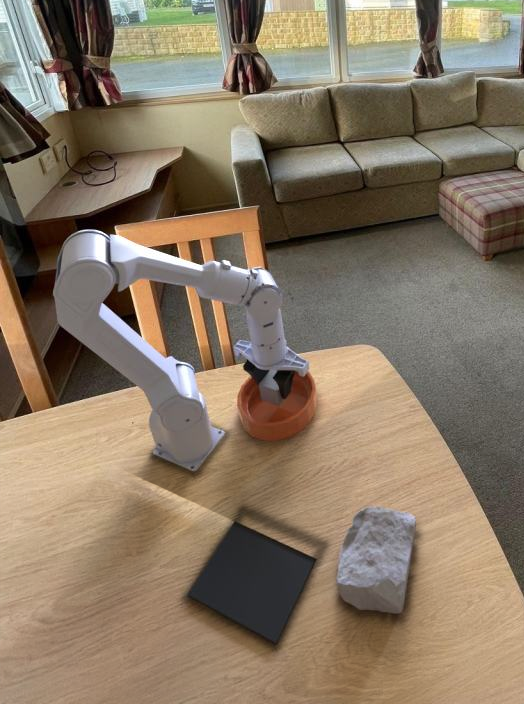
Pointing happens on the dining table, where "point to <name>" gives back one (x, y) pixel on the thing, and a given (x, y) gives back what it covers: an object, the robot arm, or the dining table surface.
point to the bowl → (277, 409)
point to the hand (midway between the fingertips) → (276, 391)
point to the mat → (253, 581)
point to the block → (270, 389)
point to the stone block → (376, 559)
